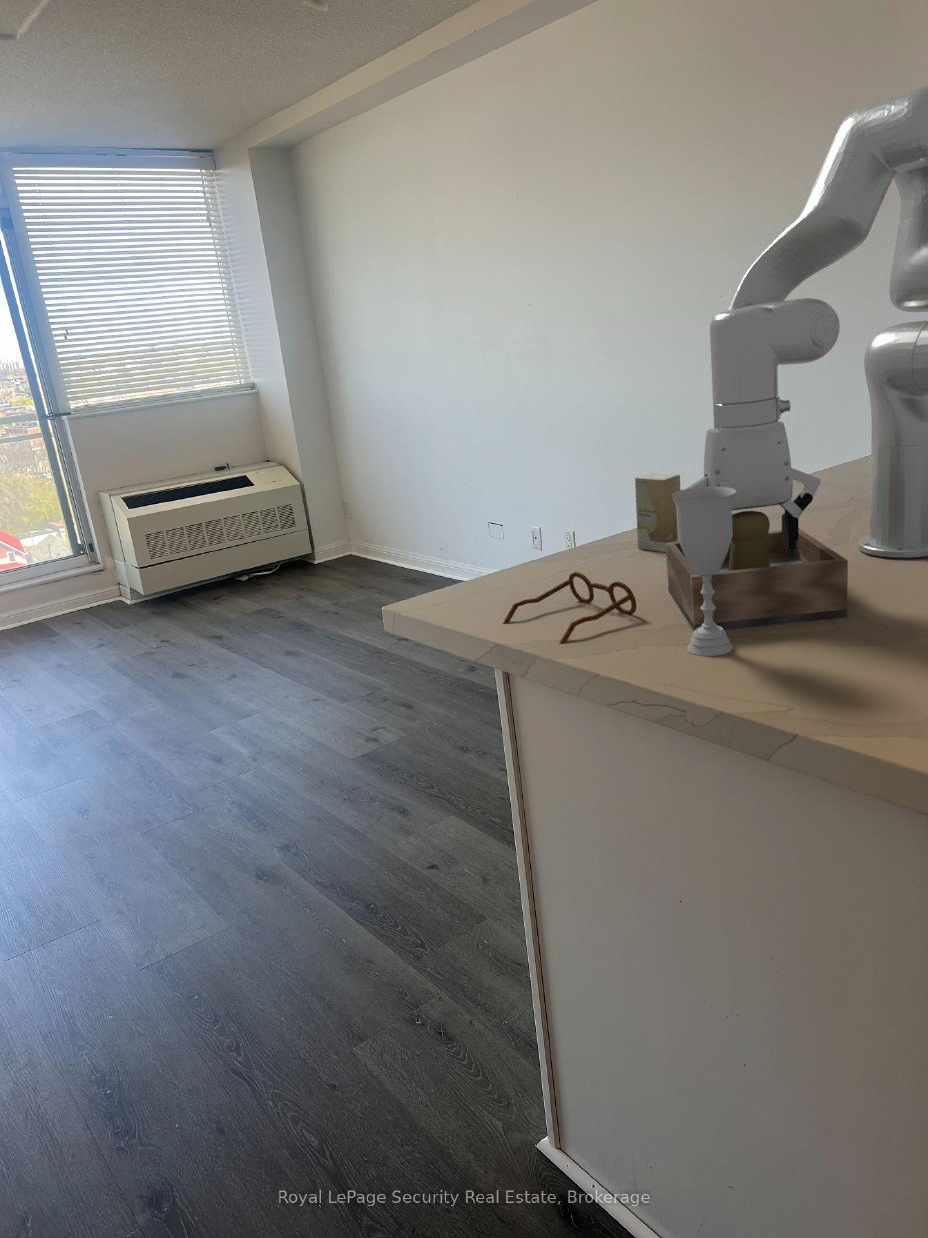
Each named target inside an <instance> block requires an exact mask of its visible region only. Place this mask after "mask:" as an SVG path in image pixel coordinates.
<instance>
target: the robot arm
mask: <svg viewBox="0 0 928 1238" xmlns="http://www.w3.org/2000/svg"><path fill="white" fill-rule="evenodd" d="M819 169H820V170H819V171H818V174H817V175H816V178H815V181H814V183H813V184H812V187H811V190H810V192H809V195H808V196H807V199H806V201H805V203H804V206H803V208H802V210H801V212H800V214H799V216H798V217H797V218H796V219H795V220H794V221H793V222H792V223H791V224H790V225H789V226H788V227H786V229H784V230H783V231H782V232H781V234H780V235H779V236H777V238H775V239H774V240H773V242H772V243H771V244H770V245H769V246H768V247H767V248H766V249H765V250H764V251H763V252H762V253H761V255H759V256H758V257H757V258H756V259H755V261H754V262H753V263H752V265H751V266H750V267H749V269H748V270H747V271H746V273H745V274H744V275H743V277H742V280H741V281H740V283H739V286H738V287H737V289H736V291H735V295H734V296H733V298H732V301H731V304H730V306H729V308H728V310H726V311H722V312H719V313H717V314H715V315H714V316H713V317H712V319H711V321H710V324H709V337H710V338H709V340H710V342H709V343H710V345H709V346H710V361H711V363H710V364H711V385H712V386H711V387H712V388H711V389H712V412H713V413H712V414H713V428H709V429H707V430H706V437H705V442H704V443H705V444H704V454H703V456H704V457H703V458H704V459H703V477H701V479H699V480H697V481H696V482H694V483H692V484H691V485H689V486H688V487H686V488H685V489H690V488H697V487H729V488H733V489H735V490H736V492H735V495H734V497H733V499H732V511H739V510H747V509H756V508H765V507H774V506H780V507H781V508H783V510H784V513H782V515H781V530H782V544H783V545H784V546H786V547H787V548H788V549H795V541H796V540H798V539H799V529H800V527H799V518H800V517H801V516H802V515H803V512H804V511H805V510H806V508H807V507H808V506H809V505H810V504H811V503H812V502H813V500H814V496H815V495H816V492H817V491H818V489H819V487H820V484H821V479H820V478H818V477H816V476H814V475H812V474H809V473H806V472H804V471H801V470H798V469H795V468H793V467H792V460H791V459H792V458H791V453H790V446H789V441H788V435H787V431H786V427H785V423H784V422H783V421H780V419H781V416H782V414H784V413H785V412H790V411H791V401H790V400H789V399H787V400H783V399H781V398H780V396H778V395H779V384H778V383H779V381H778V380H779V379H778V377H779V376H778V366H779V365H781V366H782V365H784V366H787V365H801V364H802V365H803V364H808V363H813V362H815V361H817V360H819V359H821V358H824V356H826V355H827V354H828V353H829V352H830V351H831V350H832V348H834V346H835V345H836V344H837V341H838V337H839V335H840V331H841V330H840V327H841V326H840V323H841V322H840V319H839V316H838V313H837V312H836V310H835V309H834V307H832V305H830V304H829V303H828V302H826V301H823V300H821V299H818V298H797V299H796V298H794V299H788V300H786V299H787V298H788V296H789V295H791V293H792V292H793V291H794V290H796V288H798V286H800V285H801V284H802V283H803V282H804V281H806V280H807V279H810V277H812V276H814V275H816V274H817V273H818V272H820V271H822V270H824V269H826V268H828V267H829V266H830V265H833V264H835V263H836V262H838V261H840V260H841V259H843V258H845V257H846V256H847V255H849V254H851V253H852V252H854V250H856V249H858V248H859V247H860V246H861V245H862V244H863V243H864V242H865V240H866V239H867V238H868V236H869V234H870V232H871V230H872V227H873V225H874V222H875V219H876V217H877V215H878V213H879V211H880V208H881V206H882V203H883V201H884V199H885V197H886V195H887V192H888V189H889V187H890V186H891V183H892V181H894V183H895V186H896V187H897V191H898V195H899V199H900V200H899V202H900V212H899V214H900V215H899V222H898V223H899V224H898V228H897V234H896V239H895V246H894V253H893V259H892V264H891V270H890V277H889V278H890V279H889V286H888V287H889V288H888V289H889V299H890V301H891V303H892V305H893V306H894V307H895V308H896V309H898V310H900V311H903V312H908V313H928V84H927V85H924V86H921V87H918V88H915V89H912V90H909V91H905V92H903V93H899V94H896V95H893V96H890V97H886V98H884V99H880V100H878V101H875V102H872V103H868V104H867V105H863V106H862V107H859V108H857V109H855V110H854V111H852V112H851V113H850V114H849V115H848V116H846V117H845V119H844V120H843V121H842V122H841V124H840V125H839V127H838V128H837V131H836V132H835V135H834V137H833V139H832V141H831V144H830V146H829V148H828V150H827V153H826V156H825V158H824V160H823V162H822V163H821V167H820V168H819ZM863 362H864V363H863V364H864V365H863V366H864V374H865V380H866V384H867V388H868V393H869V402H870V417H871V446H870V447H871V451H870V452H871V453H870V509H869V510H870V511H869V512H870V514H869V515H870V516H869V518H870V519H869V521H870V523H869V525H870V526H869V527H870V528H869V530H870V533H869V534H868V535H864V536H862V537H861V538H859V540H858V549H859V551H861V552H862V553H865V554H867V555H871V556H875V557H882V558H893V559H895V558H896V559H913V558H915V559H916V558H926V557H928V320H921V321H908V322H902V323H897V324H893V325H891V326H888V327H886V328H884V329H882V330H880V331H879V332H878V333H876V335H874V336H873V338H872V339H871V340H870V341H869V343H868V344H867V347H866V350H865V354H864V361H863ZM793 481H796V482H798V483H802V484H803V489H802V491H801V492H800V493H799V494H798V496H796V498H795V499H794V500H792V498H793V491H794V490H793V489H794V488H793V487H794V483H793Z"/></svg>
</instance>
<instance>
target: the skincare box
mask: <svg viewBox="0 0 928 1238" xmlns="http://www.w3.org/2000/svg"><path fill="white" fill-rule="evenodd" d="M634 481H635V483H634V484H635V508H636V511H635V513H636V533H637V549H640V550H649V551H655V552H662V553H666V543H671V542H679V540H678V532H677V513H676V504H675V502H674V500H673V498H672V497H671V495H672V493H674V492H677V491H680V490H681V475H680V474H670V473H656V472H655V473H654V472H650V473H646V474H643V475H640V476H636V477H634Z"/></svg>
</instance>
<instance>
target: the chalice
mask: <svg viewBox="0 0 928 1238" xmlns="http://www.w3.org/2000/svg"><path fill="white" fill-rule="evenodd" d="M735 492H736V490H735V489H733V488H729V487H697V488H690V489H686V488H684V489H680V491H677V492H674V493H672V495H671V497H672V498H673V500H674V502H675V504H676V513H677V532H678V540H679V542H680V545H681V548H682V550H683V553H684V555H685V557H686V558H687V560H688V562H689V564H690V566H691V568H692V569H693V571H694V573H695V574H698V575H701V576H702V579H703V587H702V590H701V592H700V593H701V594H702V595H703V598H704V603H703V605H702V606H701V608H700V609H701V610H702V611H703V612H704V616H705V620H704V623H703V624H702V626H701V627H698V628H697V629H696V630H695V631H693V633H692V637H691V638H690V640H689V641H690V643H689V645H688V646H687V652H689V653H691V654H694V655H697V656H703V657H712V656H713V657H714V656H720V655H724V654H727V653H730V652H731V651H733V649H734V646H733V645H732V644H731V642H730V638H729V637H728V635H727V632H726V630H724V629H723V628H722V627H720V626H716V624H715V623H714V621H713V618H712V617H713V611H714V610H715V609H716V607H715V606H714V605H713V602H712V596H713V594H714V593H715V591H714V590H713V588H712V584H711V578H712V575H714V574H716V573H718V572H719V571H720V568H721V566H722V564H723V562H724V559H725V557H726V555H727V553H728V549H729V546H730V542H731V539H732V536H733V526H732V515H733V510H732V499H733V497H734V495H735Z"/></svg>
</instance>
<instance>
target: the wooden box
mask: <svg viewBox="0 0 928 1238" xmlns="http://www.w3.org/2000/svg"><path fill="white" fill-rule="evenodd" d="M765 539H766V545H767V552H768V558H769V564H770V566H769V567H760V568H751V569H741V570H732V571H728V570H729V560H730V550H731V542H730V546H729V549H728V553H727V555H726V557H725V559H724V562H723V564H722V566H721V568H720V571H719V572H718V573H716V574H714V575H712V578H711V584H712V588H713V590H714V591H715V593H714V594H713V596H712V602H713V605H714V606H715V607H716V609H715V610H714V611H713V617H712V618H713V621H714V623H715V624H716V626H720V627H722V628H723V629H724V630H725V631H726V630H735V629H741V628H742V629H744V628H745V629H746V628H753V627H763V626H764V627H765V626H774V625H782V624H783V625H784V624H792V623H802V622H813V621H822V620H832V619H842V618H848V594H849V593H848V589H849V588H848V579H849V578H848V576H849V574H848V571H849V570H848V568H849V567H848V566H849V565H848V564H849V563H848V562H849V560H848V559H846V557H843V556H841V554H839V553H837V552H836V551H834V550H833V549H831V548H830V547H828V546H827V545H826V544H823V543H822V541H821V542H820V541H819V540H818V539H816V538H814V537H813V536H812V535H810V534H809V533H807V532H805V531H804V530H802V529H801V528H799V539H798V540H796V541H795V549H788V548H787V547H786V546H784V545H783V544H782V529H781V530H772V531H770V530H769V532H768V534H767V536H766V537H765ZM731 541H732V539H731ZM665 553H666V569H667V570H666V571H667V572H666V573H667V589H668V593H669V594H670V596H671V598H672V599H673V600H674V601H673V602H675V603H676V605H677V607H678V609H679V610H680V612H681V613H682V615H683V617H684V618H685V620H686V621H687V623H688V625H689V626H690V627H691V629H692V631H693V632H694V631H695V630H696V629H697V628H698V627H701V626H702V624H703V623H704V620H705V616H704V612H703V611H702V610H701V609H700V608H701V606H702V605H703V603H704V598H703V595H702V594H701V593H700V592H701V590H702V587H703V579H702V576H701V575H698V574H695V573H694V571H693V569H692V568H691V566H690V564H689V562H688V560H687V558H686V557H685V555H684V553H683V550H682V548H681V545H680V542H671V543H666V552H665Z"/></svg>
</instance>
